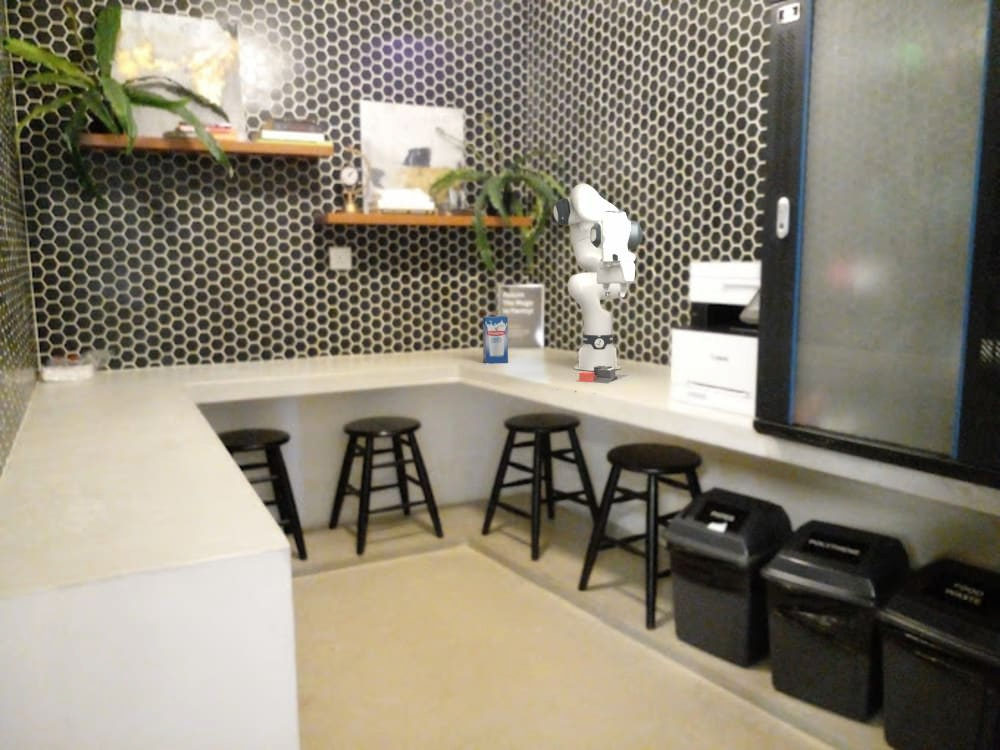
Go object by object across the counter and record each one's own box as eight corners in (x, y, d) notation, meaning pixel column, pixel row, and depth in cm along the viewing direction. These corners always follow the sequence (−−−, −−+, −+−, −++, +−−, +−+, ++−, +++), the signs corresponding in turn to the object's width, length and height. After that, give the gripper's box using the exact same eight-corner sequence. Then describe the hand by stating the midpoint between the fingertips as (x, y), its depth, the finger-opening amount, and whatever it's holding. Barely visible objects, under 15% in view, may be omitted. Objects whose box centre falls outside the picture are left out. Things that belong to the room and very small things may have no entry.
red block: (583, 379, 266) (583, 371, 265) (594, 380, 264) (594, 372, 264) (579, 381, 262) (579, 372, 262) (589, 382, 260) (589, 373, 260)
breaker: (602, 377, 269) (602, 367, 269) (615, 378, 267) (615, 368, 266) (597, 379, 265) (597, 369, 264) (610, 380, 263) (610, 370, 262)
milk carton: (485, 363, 326) (485, 317, 323) (483, 361, 332) (482, 316, 329) (508, 362, 328) (507, 317, 325) (505, 361, 334) (504, 316, 331)
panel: (598, 377, 282) (598, 363, 282) (628, 379, 277) (628, 365, 276) (575, 385, 263) (575, 370, 263) (607, 387, 258) (607, 372, 257)
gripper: (592, 258, 270) (592, 296, 271) (621, 255, 251) (621, 297, 252) (607, 258, 272) (607, 296, 274) (638, 255, 253) (637, 296, 255)
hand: (614, 296), depth 263 cm, fingers open, 8 cm apart
